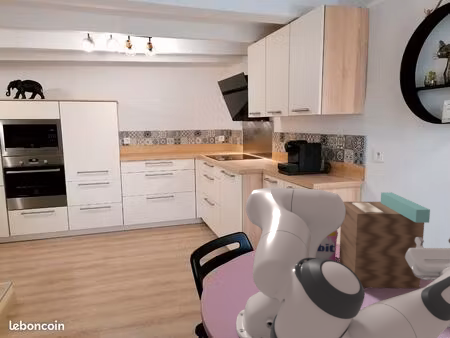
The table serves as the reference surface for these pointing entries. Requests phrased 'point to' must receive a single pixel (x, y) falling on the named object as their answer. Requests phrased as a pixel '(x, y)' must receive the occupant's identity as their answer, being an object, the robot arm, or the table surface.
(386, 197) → the beam
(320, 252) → the gum box
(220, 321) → the table surface
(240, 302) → the table surface
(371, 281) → the stand
